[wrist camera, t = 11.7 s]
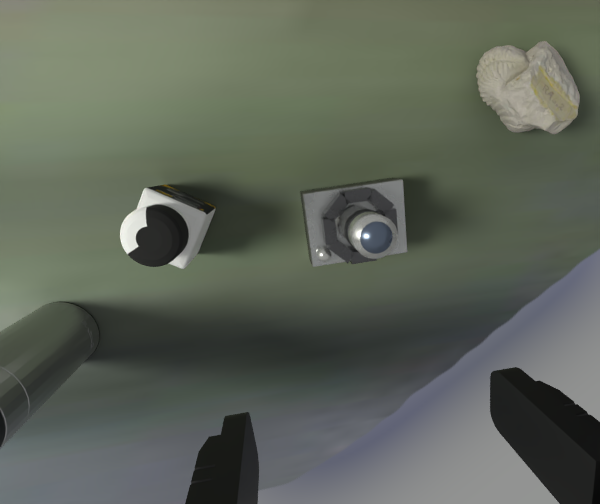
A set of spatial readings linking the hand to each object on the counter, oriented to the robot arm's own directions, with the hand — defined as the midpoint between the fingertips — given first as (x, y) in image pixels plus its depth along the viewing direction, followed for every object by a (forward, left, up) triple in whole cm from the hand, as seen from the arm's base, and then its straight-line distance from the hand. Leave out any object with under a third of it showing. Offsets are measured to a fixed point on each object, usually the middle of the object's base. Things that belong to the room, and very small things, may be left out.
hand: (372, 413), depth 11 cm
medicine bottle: (-15, +3, -36) cm, 39 cm away
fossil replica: (+29, +13, -36) cm, 48 cm away
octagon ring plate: (+7, 0, -36) cm, 37 cm away
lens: (+7, 0, -31) cm, 32 cm away
